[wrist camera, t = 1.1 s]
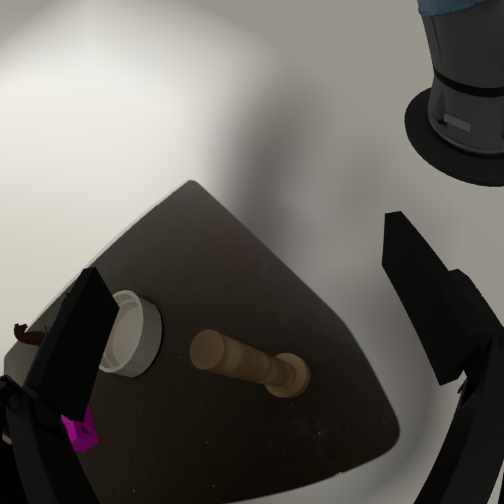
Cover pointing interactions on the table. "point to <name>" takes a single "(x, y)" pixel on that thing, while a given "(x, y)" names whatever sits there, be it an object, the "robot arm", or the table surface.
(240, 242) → the table surface
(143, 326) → the bowl
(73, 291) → the robot arm
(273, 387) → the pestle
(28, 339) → the chess piece
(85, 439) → the toy block
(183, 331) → the table surface
